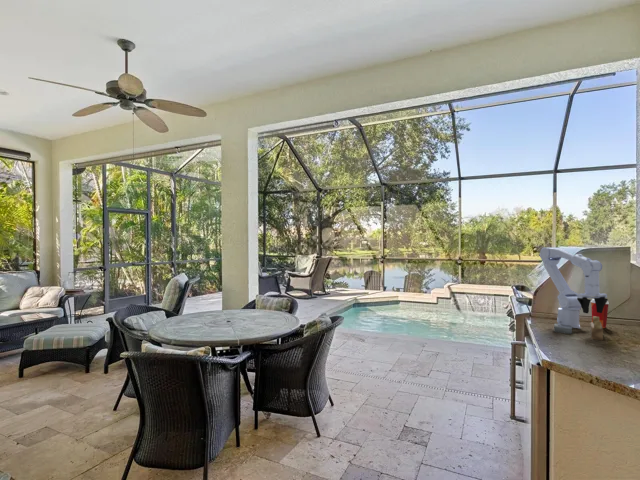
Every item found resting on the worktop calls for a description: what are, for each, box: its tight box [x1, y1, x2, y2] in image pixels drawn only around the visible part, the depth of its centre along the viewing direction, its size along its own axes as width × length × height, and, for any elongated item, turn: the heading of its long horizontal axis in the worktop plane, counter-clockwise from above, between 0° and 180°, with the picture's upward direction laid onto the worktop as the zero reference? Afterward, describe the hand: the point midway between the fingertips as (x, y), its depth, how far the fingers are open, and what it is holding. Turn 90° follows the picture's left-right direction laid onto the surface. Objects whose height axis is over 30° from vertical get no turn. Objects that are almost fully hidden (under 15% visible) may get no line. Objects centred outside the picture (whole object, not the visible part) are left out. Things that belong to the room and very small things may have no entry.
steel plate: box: [553, 323, 573, 335], centre depth 173 cm, size 7×7×3 cm
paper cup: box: [590, 298, 610, 329], centre depth 182 cm, size 8×8×14 cm
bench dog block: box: [589, 316, 604, 342], centre depth 165 cm, size 4×14×8 cm, turn 144°
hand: (592, 312), depth 171 cm, fingers open, 7 cm apart
